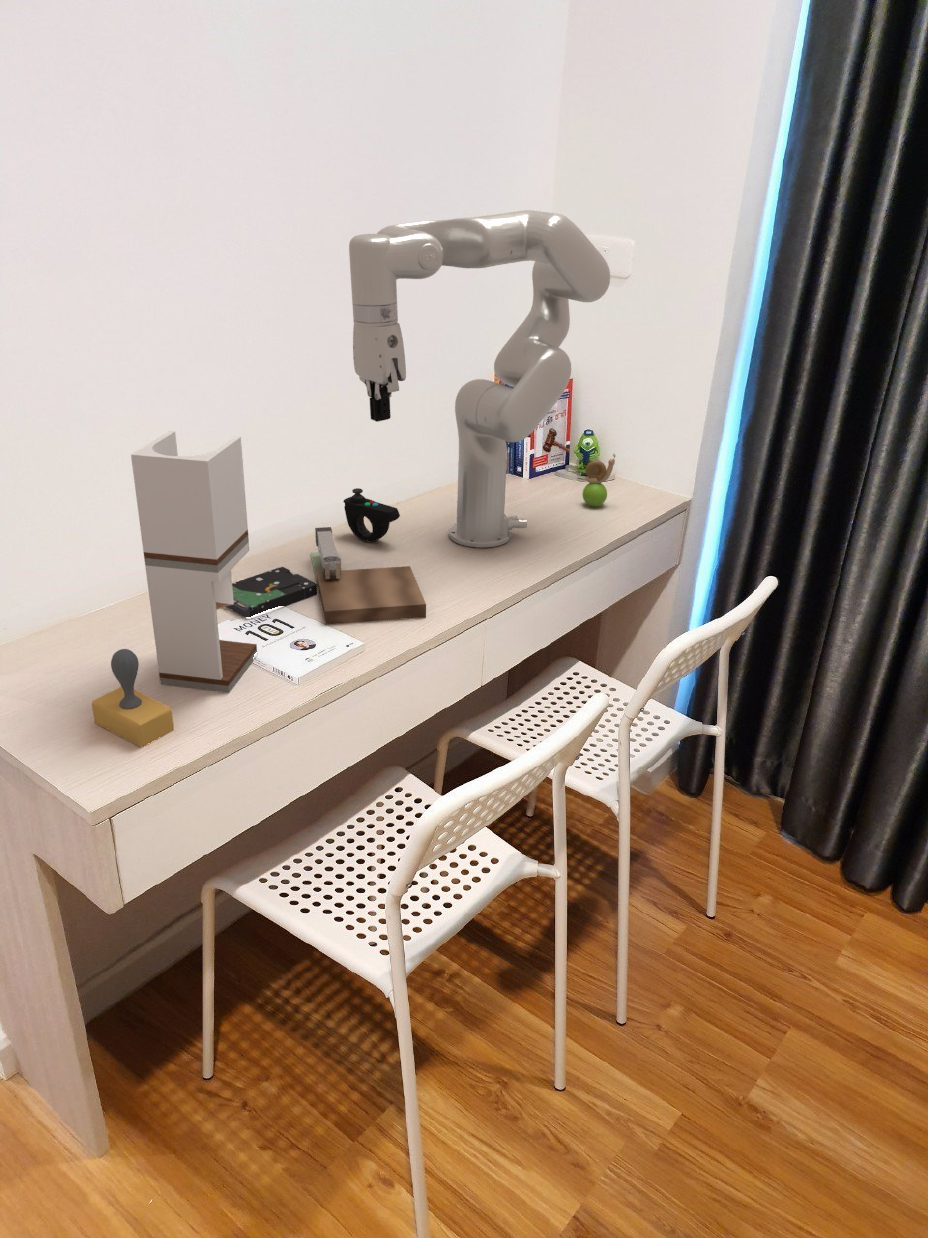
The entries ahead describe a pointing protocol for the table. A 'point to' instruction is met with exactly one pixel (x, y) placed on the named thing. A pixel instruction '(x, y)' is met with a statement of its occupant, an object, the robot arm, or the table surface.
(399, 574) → the brown flat wooden board
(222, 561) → the gray dispenser tower
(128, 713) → the rubber stamp
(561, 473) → the table surface
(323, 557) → the folding leg
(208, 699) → the table surface
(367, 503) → the controller
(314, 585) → the disk drive
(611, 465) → the snail figurine
